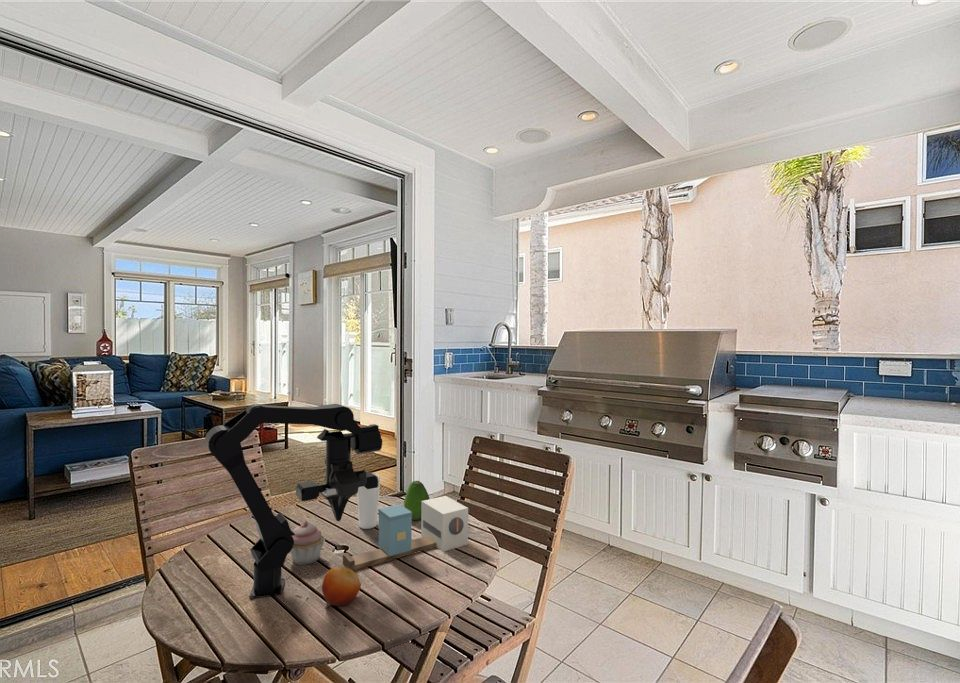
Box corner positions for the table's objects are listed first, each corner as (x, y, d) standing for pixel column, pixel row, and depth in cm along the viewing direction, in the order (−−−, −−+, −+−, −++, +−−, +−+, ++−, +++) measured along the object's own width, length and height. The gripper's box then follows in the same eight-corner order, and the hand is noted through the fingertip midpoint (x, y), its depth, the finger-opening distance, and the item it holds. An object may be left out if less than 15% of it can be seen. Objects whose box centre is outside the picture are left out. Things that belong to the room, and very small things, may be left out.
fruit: (311, 590, 104) (331, 556, 106) (343, 602, 107) (363, 569, 108) (312, 610, 97) (334, 573, 98) (347, 623, 99) (367, 586, 100)
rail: (349, 571, 115) (349, 561, 115) (342, 563, 119) (342, 553, 119) (436, 546, 129) (436, 538, 129) (427, 540, 133) (427, 531, 133)
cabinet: (444, 553, 126) (444, 515, 125) (421, 536, 136) (421, 501, 136) (469, 545, 130) (470, 509, 130) (445, 529, 141) (445, 495, 141)
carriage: (390, 556, 120) (390, 517, 120) (378, 546, 126) (378, 508, 126) (412, 550, 124) (412, 512, 123) (399, 540, 130) (399, 504, 129)
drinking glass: (355, 523, 145) (355, 473, 145) (378, 520, 147) (378, 472, 147) (356, 531, 139) (357, 480, 139) (380, 529, 141) (380, 478, 141)
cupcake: (277, 563, 119) (277, 523, 119) (305, 548, 128) (306, 511, 127) (305, 571, 115) (306, 530, 115) (333, 555, 124) (333, 517, 124)
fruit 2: (432, 514, 152) (432, 477, 152) (426, 524, 144) (427, 485, 144) (407, 513, 153) (407, 476, 153) (401, 523, 145) (401, 484, 145)
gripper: (308, 470, 104) (308, 541, 104) (388, 458, 115) (387, 522, 115) (295, 459, 113) (294, 525, 113) (370, 449, 124) (369, 509, 124)
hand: (338, 520), depth 116 cm, fingers closed
